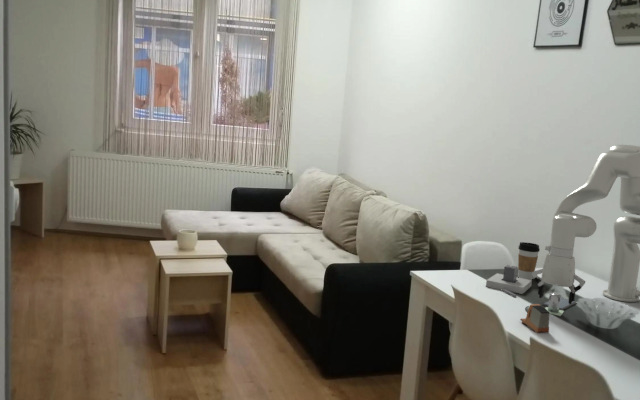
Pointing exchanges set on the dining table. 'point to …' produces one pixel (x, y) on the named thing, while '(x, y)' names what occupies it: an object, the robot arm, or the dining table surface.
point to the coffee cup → (527, 259)
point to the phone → (562, 304)
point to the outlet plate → (509, 284)
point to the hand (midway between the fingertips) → (555, 299)
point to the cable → (509, 293)
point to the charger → (510, 273)
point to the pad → (555, 313)
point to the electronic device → (537, 318)
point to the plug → (554, 302)
